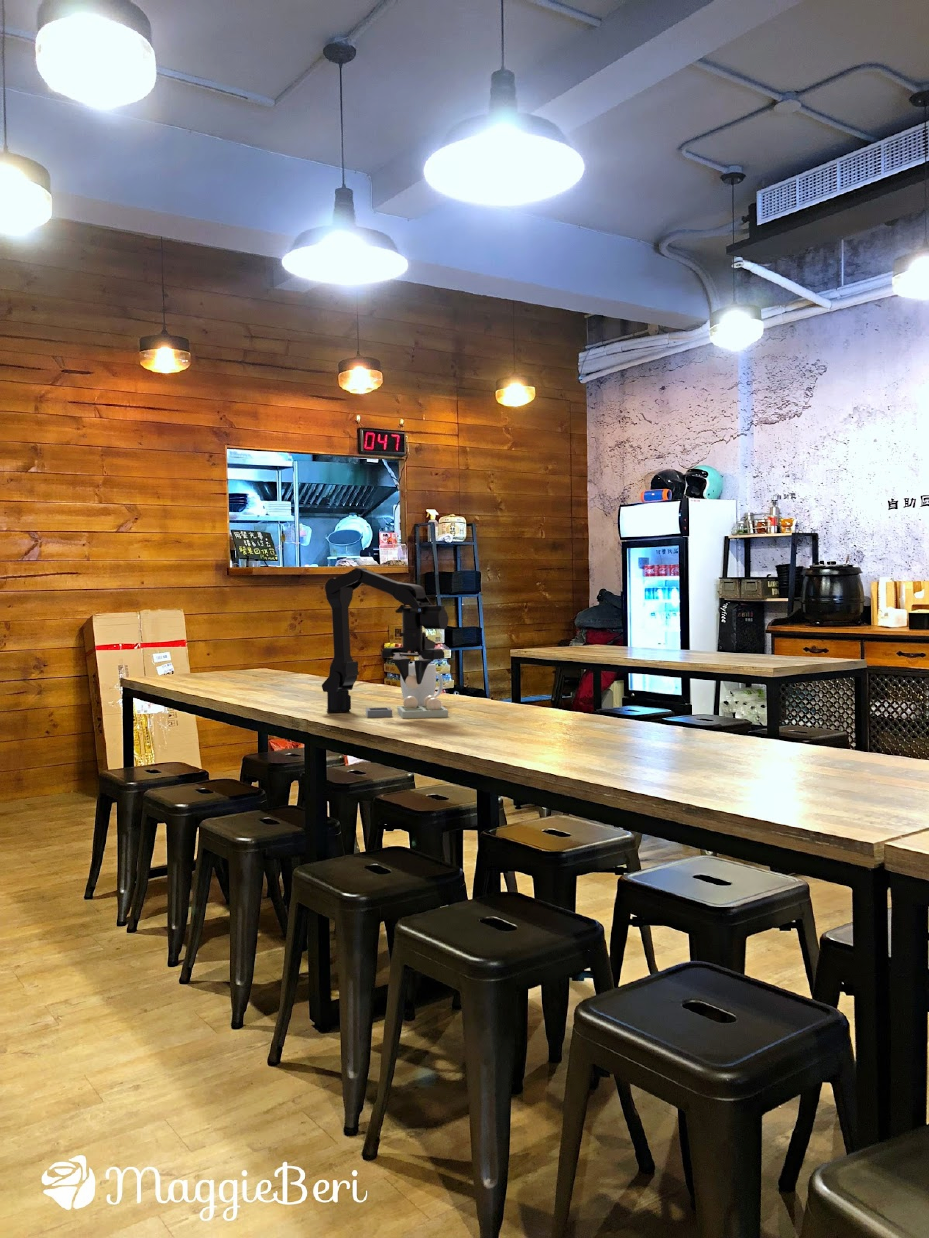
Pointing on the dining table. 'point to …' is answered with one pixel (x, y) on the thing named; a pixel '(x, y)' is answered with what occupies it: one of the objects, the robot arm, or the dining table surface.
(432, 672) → the mug
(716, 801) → the dining table surface
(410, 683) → the egg
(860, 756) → the dining table surface
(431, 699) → the carton
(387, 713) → the dish
